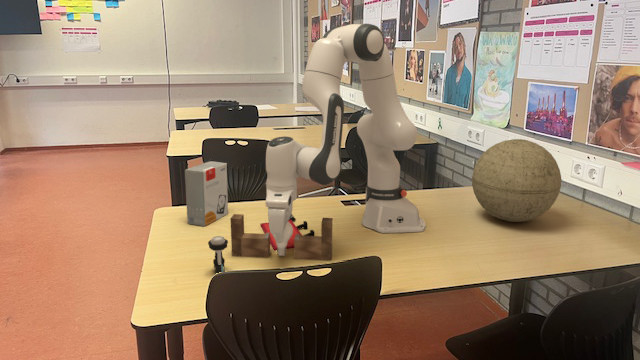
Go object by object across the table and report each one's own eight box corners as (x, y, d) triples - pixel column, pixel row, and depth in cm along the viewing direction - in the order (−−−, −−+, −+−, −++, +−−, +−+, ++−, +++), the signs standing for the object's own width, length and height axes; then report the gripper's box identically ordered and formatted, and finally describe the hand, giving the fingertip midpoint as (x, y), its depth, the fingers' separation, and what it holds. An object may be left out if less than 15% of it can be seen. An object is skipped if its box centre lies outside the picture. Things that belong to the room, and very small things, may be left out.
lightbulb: (295, 258, 143) (296, 221, 142) (275, 260, 140) (276, 223, 139) (286, 252, 149) (287, 217, 148) (267, 254, 146) (268, 218, 145)
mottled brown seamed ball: (516, 203, 197) (525, 131, 189) (574, 229, 170) (587, 145, 162) (452, 210, 188) (459, 134, 180) (503, 238, 161) (514, 150, 153)
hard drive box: (205, 227, 168) (201, 172, 163) (186, 224, 171) (183, 169, 166) (229, 213, 182) (226, 162, 177) (211, 211, 185) (209, 160, 180)
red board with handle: (296, 215, 181) (256, 219, 177) (296, 208, 181) (256, 212, 176) (320, 247, 154) (274, 253, 150) (320, 238, 153) (273, 245, 149)
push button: (208, 266, 138) (206, 234, 135) (227, 264, 140) (225, 232, 137) (210, 277, 132) (208, 243, 129) (230, 274, 134) (228, 241, 131)
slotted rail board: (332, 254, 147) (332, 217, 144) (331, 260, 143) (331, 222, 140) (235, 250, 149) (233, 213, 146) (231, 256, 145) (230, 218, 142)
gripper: (277, 182, 151) (277, 224, 155) (264, 203, 131) (265, 250, 135) (297, 183, 151) (297, 224, 154) (287, 204, 131) (287, 251, 135)
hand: (282, 236), depth 145 cm, fingers open, 7 cm apart
